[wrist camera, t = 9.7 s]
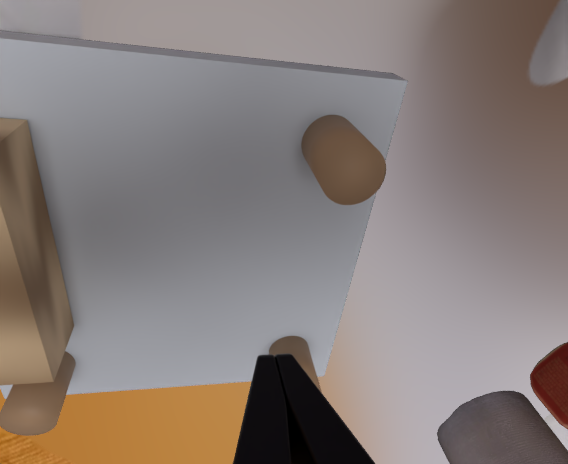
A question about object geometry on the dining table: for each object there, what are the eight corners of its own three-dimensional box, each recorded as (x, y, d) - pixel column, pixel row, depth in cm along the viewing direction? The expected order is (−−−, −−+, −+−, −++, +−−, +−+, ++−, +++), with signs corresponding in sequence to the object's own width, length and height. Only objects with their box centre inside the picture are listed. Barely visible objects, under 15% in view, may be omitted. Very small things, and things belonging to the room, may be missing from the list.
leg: (-46, 115, 14) (-119, 156, 11) (27, 119, 15) (-23, 160, 12) (24, 327, 20) (-10, 395, 17) (74, 325, 21) (50, 391, 18)
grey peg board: (393, 73, 18) (450, 102, 14) (318, 357, 29) (338, 423, 25) (-121, 17, 14) (-262, 36, 10) (15, 376, 24) (-24, 459, 20)
